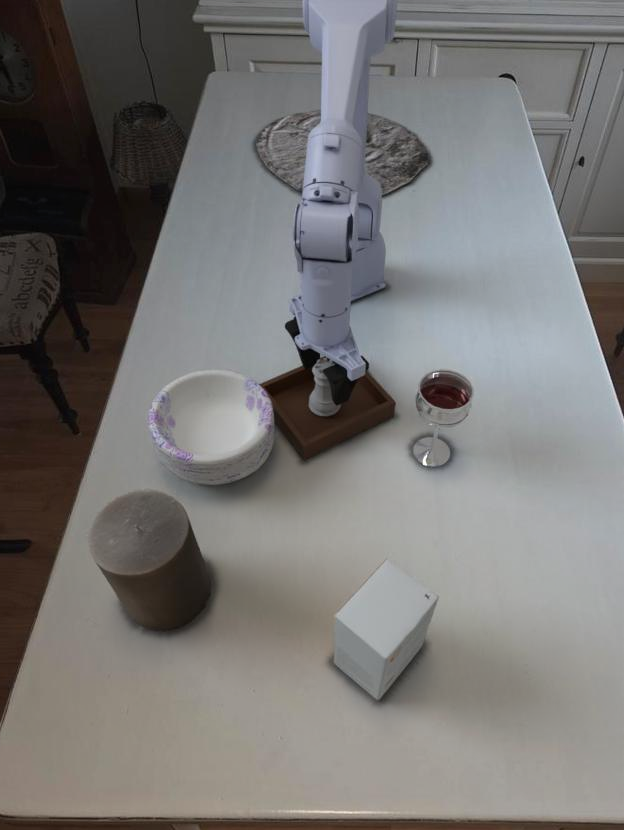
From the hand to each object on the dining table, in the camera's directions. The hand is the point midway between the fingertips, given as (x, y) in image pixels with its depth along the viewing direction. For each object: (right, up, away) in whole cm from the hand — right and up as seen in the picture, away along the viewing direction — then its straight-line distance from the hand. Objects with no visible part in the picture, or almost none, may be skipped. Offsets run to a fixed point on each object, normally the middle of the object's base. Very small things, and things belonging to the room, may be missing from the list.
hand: (325, 382), depth 84 cm
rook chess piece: (0, -3, +4) cm, 5 cm away
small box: (+6, -32, -16) cm, 36 cm away
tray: (0, -3, +4) cm, 5 cm away
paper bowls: (-14, -9, -1) cm, 17 cm away
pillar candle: (-18, -26, -12) cm, 34 cm away
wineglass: (+14, -9, 0) cm, 17 cm away
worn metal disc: (+1, +54, +43) cm, 69 cm away
